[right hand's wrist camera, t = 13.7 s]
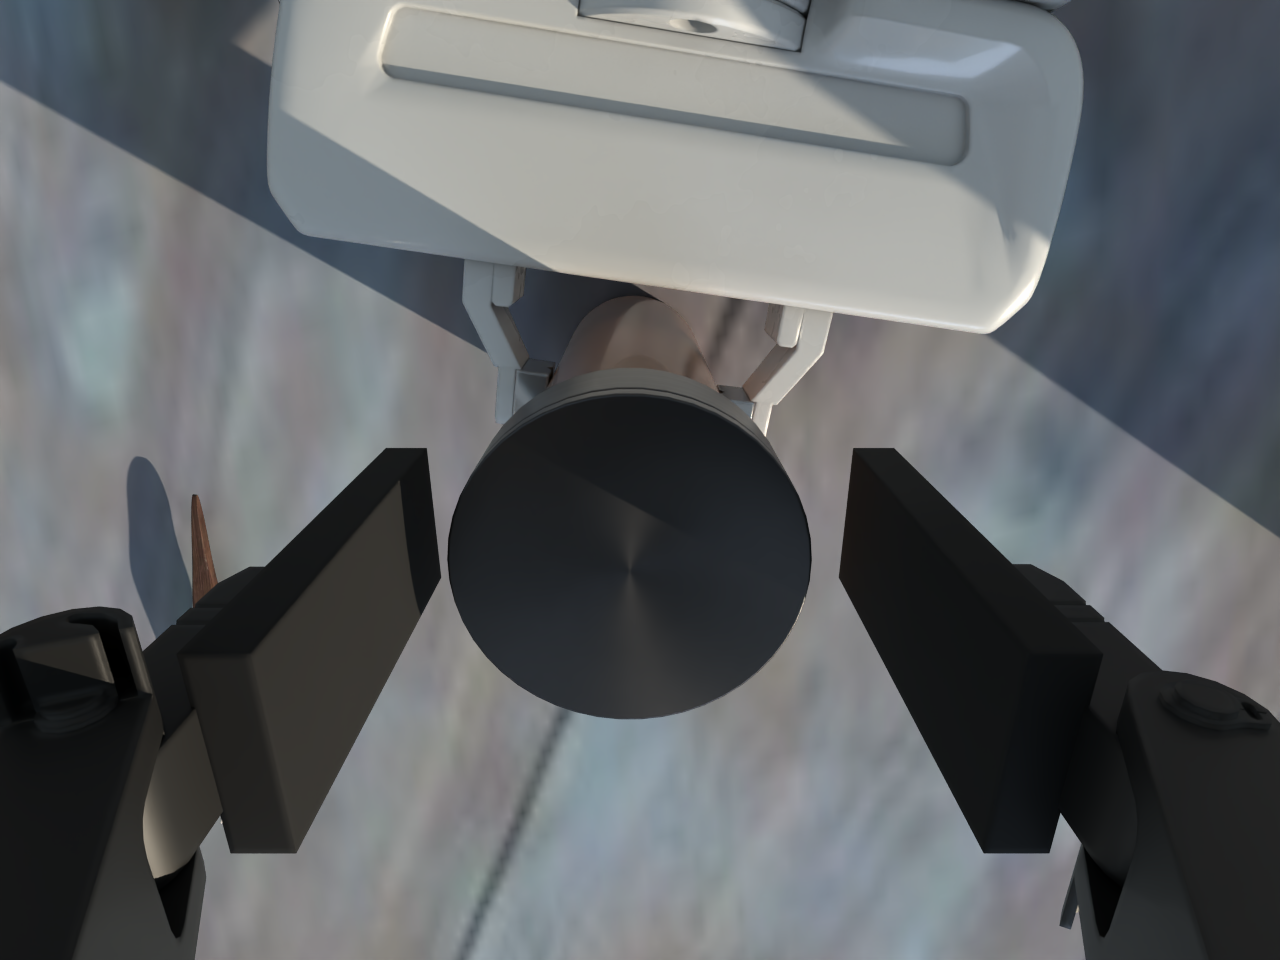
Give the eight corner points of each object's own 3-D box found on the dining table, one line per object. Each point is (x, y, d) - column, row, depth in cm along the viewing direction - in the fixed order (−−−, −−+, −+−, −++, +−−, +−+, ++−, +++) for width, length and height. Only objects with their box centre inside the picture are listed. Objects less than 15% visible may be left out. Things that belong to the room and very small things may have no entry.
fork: (234, 493, 30) (208, 512, 28) (262, 793, 36) (241, 826, 34) (169, 486, 30) (138, 505, 28) (208, 789, 35) (184, 821, 34)
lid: (494, 336, 13) (469, 357, 11) (827, 402, 13) (859, 434, 11) (455, 630, 15) (429, 690, 13) (744, 678, 15) (759, 743, 13)
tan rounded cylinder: (579, 282, 27) (503, 389, 12) (712, 310, 28) (813, 449, 12) (558, 412, 29) (465, 657, 13) (682, 436, 29) (737, 703, 14)
